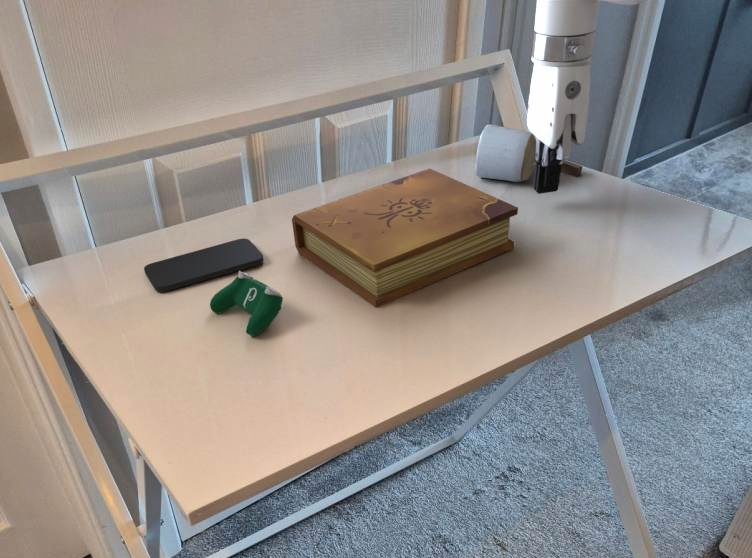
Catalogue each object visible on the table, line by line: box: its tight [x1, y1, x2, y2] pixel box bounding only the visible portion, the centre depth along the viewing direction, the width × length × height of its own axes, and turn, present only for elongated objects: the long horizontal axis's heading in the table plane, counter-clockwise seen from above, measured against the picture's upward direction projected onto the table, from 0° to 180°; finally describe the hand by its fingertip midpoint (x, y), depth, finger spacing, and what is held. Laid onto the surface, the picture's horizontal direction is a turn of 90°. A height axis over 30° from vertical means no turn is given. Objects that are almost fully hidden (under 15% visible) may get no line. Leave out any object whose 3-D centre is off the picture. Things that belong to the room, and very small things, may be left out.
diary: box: [291, 168, 519, 308], centre depth 90 cm, size 23×19×6 cm
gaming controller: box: [209, 270, 284, 338], centre depth 81 cm, size 9×4×6 cm
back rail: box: [534, 157, 583, 178], centre depth 112 cm, size 14×1×2 cm, turn 38°
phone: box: [143, 238, 265, 293], centre depth 91 cm, size 7×1×15 cm
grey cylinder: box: [475, 123, 536, 183], centre depth 107 cm, size 11×8×8 cm
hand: (545, 190), depth 99 cm, fingers closed
